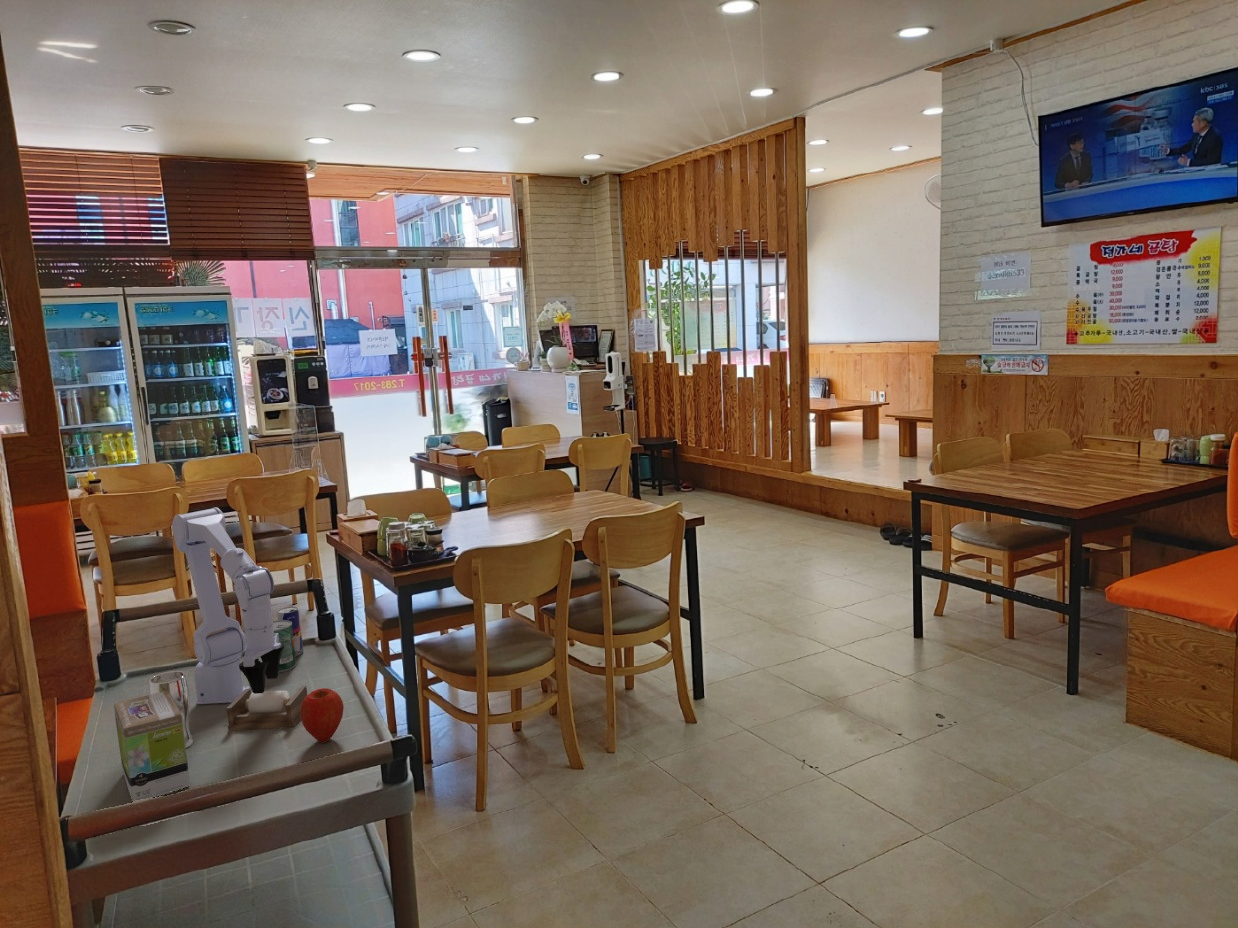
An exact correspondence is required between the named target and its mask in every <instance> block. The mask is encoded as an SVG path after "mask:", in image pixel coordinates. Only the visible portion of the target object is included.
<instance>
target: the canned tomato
mask: <svg viewBox="0 0 1238 928" xmlns="http://www.w3.org/2000/svg"><path fill="white" fill-rule="evenodd" d="M273 628H274V633H278V636H279V642H277V643H281V644H284V649H283V652H282V655H281V658H280V664H279V672H278V674H279V673H283V672H286V671H289V670H292V669H293V668H295V667H296V666H297V661H296V660H297V659H296V658H297V656H295V648H294V639H293V629H292V622H291V621H287V620H278V619H277V620H274V621H273Z"/></svg>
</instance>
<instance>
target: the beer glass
mask: <svg viewBox="0 0 1238 928" xmlns="http://www.w3.org/2000/svg"><path fill="white" fill-rule="evenodd" d="M187 681H188V680H187V677H186V673H185V671H182V670H171V671H170V670H169V671H165V672H160V673H158V674H155V675H154V676H152V677H150V679H149V681H148V683H149V695H151V694H155V693H159V692H164V691H169V692H170V694H171V695H172V697H173V699H174V701H175V703H176V705H177V707H178V708H179V710H180V713H181V715H182V721H183V729H184V738H185V746H186V749H189V748H190V747H191V746H192V745H193V743H194V740H193V739H194V738H193V736H192V733H191V730H190V725H189V723H190V722H189V718H190V717H189V715H190V691H189V686H188V682H187Z"/></svg>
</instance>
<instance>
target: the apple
mask: <svg viewBox="0 0 1238 928" xmlns="http://www.w3.org/2000/svg"><path fill="white" fill-rule="evenodd" d="M343 715H344V702H343V699H342V697H341V695H340V694H338V693H337V692H336V691H334V690H333V689H330V688H326V687H325V688H318V689H316V690H313V691H311V692H310V693H307V696H306V697H305V698H304V700H303V702H302V705H301V711H300V717H301V719H300V721H301V723H302V726H303V727H304V728H305V730H306V731H307V732H308V733H309V735H310V736H312V737H313V738H314V739H315V740H316V741H317V742H319V743H327V742H328V741H329V740H331V739H332V738H333V736H334V735H335V733H336V731H337V729H338V728H339V726H340V724H341V722H342V718H343Z"/></svg>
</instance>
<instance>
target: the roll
mask: <svg viewBox="0 0 1238 928" xmlns="http://www.w3.org/2000/svg"><path fill="white" fill-rule="evenodd" d="M292 697H293V696H290V694H289V691H287V690H270V691H267V690H266V691H264V693H259V694H254V693H253V692H251V695H250V697H249V699H247V700H246V703H245V707H246V709H247V710H249V713H250V714H264V713H284V712H286V706H285V705H286V704H287V703H288V702H289V700H290V699H291V698H292Z"/></svg>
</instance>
